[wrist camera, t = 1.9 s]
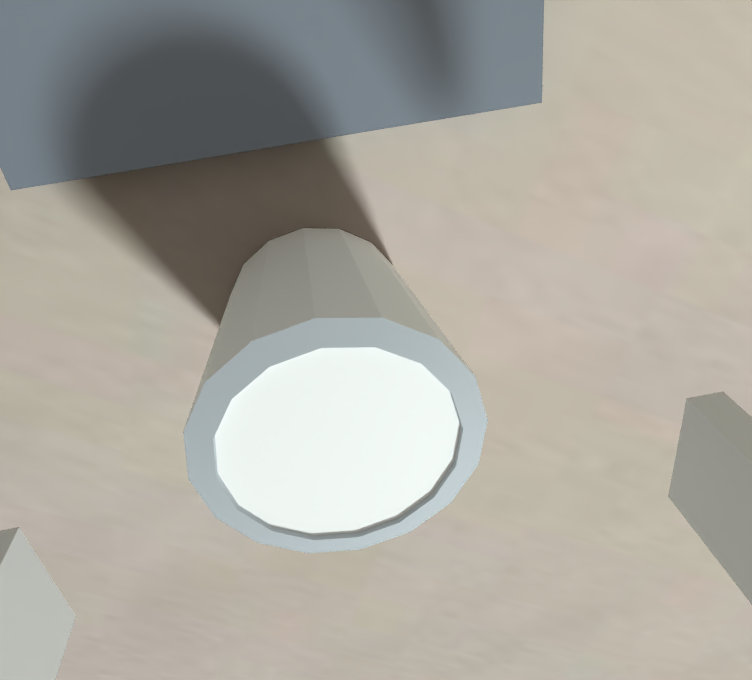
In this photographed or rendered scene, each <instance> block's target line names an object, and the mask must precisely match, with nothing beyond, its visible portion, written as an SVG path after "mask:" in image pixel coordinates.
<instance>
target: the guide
mask: <svg viewBox="0 0 752 680" xmlns="http://www.w3.org/2000/svg"><path fill="white" fill-rule="evenodd" d="M543 19H544V0H0V168H1V170H2V172H3V174H4V176H5V178H6V181H7V183H8V185H9V187H10V189H11V190H16V189H22V188H28V187H34V186H40V185H46V184H52V183H58V182H64V181H70V180H77V179H83V178H89V177H95V176H101V175H107V174H113V173H119V172H125V171H131V170H137V169H143V168H149V167H155V166H161V165H167V164H173V163H179V162H185V161H191V160H197V159H203V158H210V157H216V156H222V155H228V154H234V153H240V152H246V151H252V150H258V149H264V148H270V147H276V146H282V145H288V144H294V143H300V142H306V141H312V140H318V139H324V138H330V137H336V136H342V135H349V134H355V133H361V132H367V131H373V130H379V129H385V128H391V127H397V126H403V125H409V124H415V123H421V122H427V121H433V120H439V119H445V118H451V117H457V116H463V115H469V114H475V113H482V112H488V111H494V110H500V109H506V108H512V107H518V106H524V105H530V104H536V103H542V64H543Z"/></svg>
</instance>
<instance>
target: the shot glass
mask: <svg viewBox="0 0 752 680" xmlns="http://www.w3.org/2000/svg"><path fill="white" fill-rule="evenodd" d="M487 422H488V419H487V416H486V412H485V409H484V405H483V402H482V398H481V395H480V391H479V388H478V384H477V381H476V377H475V375H474V374H473V372H472V371H471V370H470V368H469V367H468V366H467V364H466V363H465V362H464V360H463V359H462V358H461V356H460V355H459V354H458V352H457V351H456V350H455V348H454V347H453V345H452V344H451V343H450V341H449V340H448V339H447V337H446V336H445V335H444V333H443V332H442V331H441V329H440V328H439V327H438V325H437V324H436V323H435V321H434V320H433V319H432V317H431V316H430V315H429V313H428V312H427V310H426V309H425V308H424V306H423V305H422V304H421V302H420V301H419V300H418V298H417V297H416V296H415V294H414V293H413V292H412V290H411V289H410V288H409V286H408V285H407V284H406V282H405V281H404V280H403V278H402V277H401V275H400V274H399V273H398V271H397V270H396V269H395V267H394V266H393V265H392V264H391V263H390V262H389V261H388V260H387V259H386V258H385V257H384V255H383V254H382V253H381V252H380V251H379V250H378V249H377V248H376V247H375V246H374V245H373V244H372V243H371V242H369V241H366V240H364V239H362V238H359V237H357V236H355V235H352V234H350V233H348V232H345V231H343V230H341V229H321V228H302V229H299V230H297V231H294V232H291V233H288V234H286V235H283V236H280V237H278V238H275V239H272V240H270V241H268V242H267V243H266V244H265V245H264V246H263V247H262V248H261V249H259V250H258V251H257V252H256V253H255V254H254V255H253V256H252V257H251V258H250V259H249V260H248V261H246V262H245V263H244V264H243V266H242V269H241V271H240V273H239V276H238V278H237V281H236V283H235V285H234V288H233V290H232V292H231V295H230V298H229V301H228V304H227V306H226V309H225V312H224V315H223V318H222V321H221V324H220V327H219V330H218V333H217V336H216V338H215V341H214V344H213V347H212V350H211V353H210V356H209V359H208V362H207V365H206V368H205V370H204V373H203V376H202V379H201V382H200V385H199V388H198V391H197V394H196V397H195V400H194V402H193V405H192V408H191V411H190V414H189V417H188V420H187V423H186V426H185V429H184V432H183V433H184V442H185V451H186V460H187V470H188V479H189V481H190V482H191V483H192V485H193V486H194V488H195V489H196V491H197V492H198V493H199V495H200V496H201V498H202V499H203V500H204V502H205V503H206V505H207V506H208V508H209V509H210V510H211V512H212V513H213V515H214V516H215V517H216V518H217V519H219V520H220V521H222V522H224V523H225V524H227V525H229V526H231V527H232V528H234V529H236V530H237V531H239V532H241V533H242V534H244V535H246V536H247V537H249V538H251V539H252V540H254V541H256V542H257V543H261V544H266V545H271V546H276V547H280V548H285V549H290V550H295V551H300V552H304V553H319V552H332V551H346V550H359V549H363V548H366V547H369V546H372V545H374V544H377V543H380V542H383V541H386V540H389V539H391V538H394V537H397V536H400V535H403V534H406V533H408V532H411V531H412V530H413V529H415V528H416V527H418V526H419V525H420V524H422V523H423V522H425V521H426V520H427V519H429V518H430V517H432V516H433V515H434V514H436V513H437V512H439V511H440V510H441V509H443V508H444V507H446V506H447V505H448V504H450V503H451V502H452V500H453V499H454V498H455V496H456V495H457V493H458V492H459V491H460V489H461V488H462V486H463V485H464V484H465V482H466V481H467V479H468V478H469V477H470V475H471V474H472V472H473V471H474V470H475V468H476V467H477V465H478V463H479V459H480V454H481V449H482V445H483V440H484V435H485V431H486V426H487Z"/></svg>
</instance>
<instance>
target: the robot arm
mask: <svg viewBox="0 0 752 680" xmlns="http://www.w3.org/2000/svg"><path fill="white" fill-rule="evenodd" d="M668 497H669V498H670V499H671V501H672V502H673V503H674V505H675V506H676V507H677V508H678V510H679V511H680V512H681V514H682V515H683V516H684V517H685V519H686V520H687V521H688V523H689V524H690V525H691V526H692V528H693V529H694V530H695V532H696V533H697V534H698V536H699V537H700V538H701V539H702V541H703V542H704V543H705V545H706V546H707V547H708V548H709V550H710V551H711V552H712V554H713V555H714V556H715V558H716V559H717V560H718V561H719V563H720V564H721V565H722V567H723V568H724V569H725V570H726V572H727V573H728V574H729V576H730V577H731V578H732V579H733V581H734V582H735V583H736V585H737V586H738V587H739V589H740V590H741V591H742V592H743V594H744V595H745V596H746V598H747V599H748V600H749V601H750V603H751V604H752V417H751V416H750V415H749V414H747V413H746V412H745V411H744V410H743V409H742V408H741V407H740V406H739V405H737V404H736V403H735V402H734V401H733V400H732V399H731V398H730V397H729V396H727V395H726V394H725V393H724V392H718V393H713V394H708V395H703V396H697V397H692V398H687V399H686V404H685V410H684V415H683V420H682V426H681V431H680V437H679V442H678V447H677V453H676V458H675V463H674V469H673V474H672V479H671V485H670V490H669V495H668ZM75 618H76V615H75V614H74V612H73V610H72V609H71V607H70V606H69V604H68V603H67V601H66V599H65V598H64V596H63V595H62V593H61V592H60V590H59V589H58V587H57V585H56V584H55V582H54V581H53V579H52V578H51V576H50V575H49V573H48V571H47V570H46V568H45V567H44V565H43V564H42V562H41V561H40V559H39V557H38V556H37V554H36V553H35V551H34V550H33V548H32V547H31V545H30V543H29V542H28V540H27V539H26V537H25V536H24V534H23V533H22V531H21V529H20V528H19V527H17V528H12V529H7V530H2V531H0V680H55V679H56V676H57V673H58V670H59V666H60V663H61V660H62V657H63V654H64V651H65V648H66V645H67V642H68V639H69V636H70V633H71V630H72V627H73V624H74V621H75Z"/></svg>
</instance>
